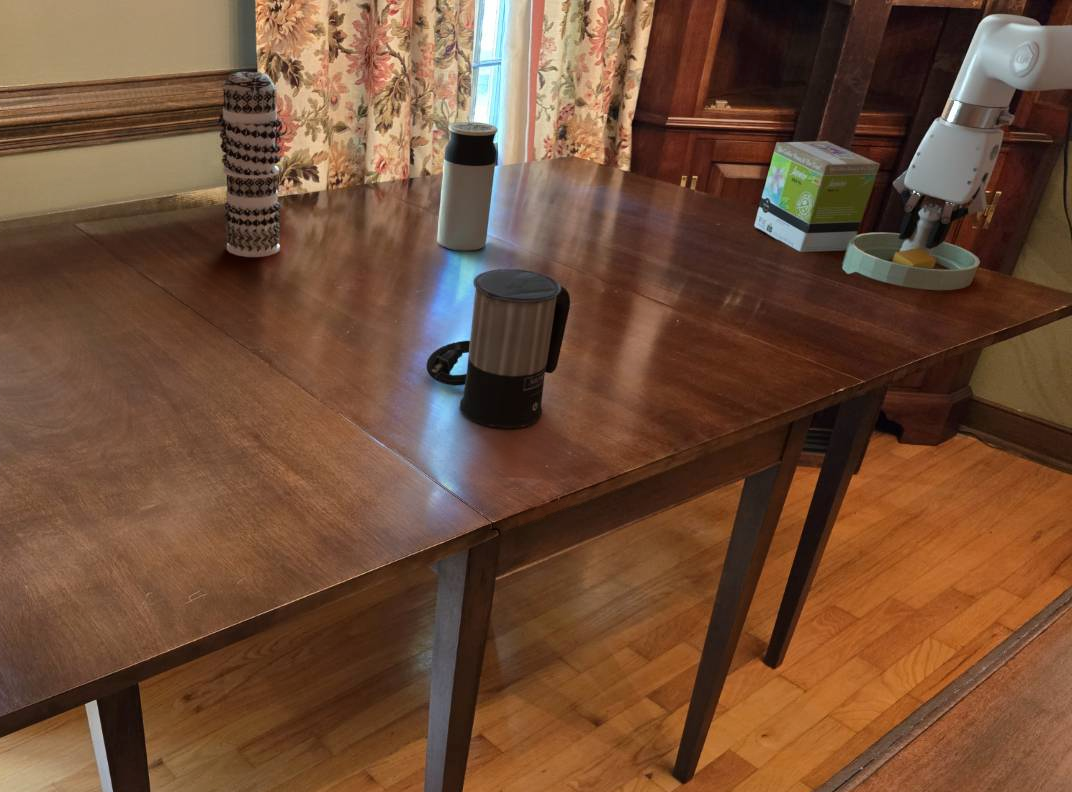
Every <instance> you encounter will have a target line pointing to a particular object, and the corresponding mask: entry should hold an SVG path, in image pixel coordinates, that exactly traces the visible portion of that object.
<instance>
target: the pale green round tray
mask: <svg viewBox="0 0 1072 792" xmlns="http://www.w3.org/2000/svg"><path fill="white" fill-rule="evenodd" d="M899 235H900V233H897V232H867V233H860V234H856V236H854V237H853V238H851V239H850V241H849V244H848V247H847V250H845V253H844V256H843V259H842V262H841V268H842V270H843V271H844V272H845V273H846V274H847V275H850V274H852V273H858V274H860V275H862V276H864V277H867V278H869V279H872V280H876V281H879V282H881V283H882V282H883V283H886V284H891V285H895V286H900V287H905V288H911V289H919V290H929V291H954V290H959V289H960V290H961V289H964V288H967V287H969V286H971V284H972V283H973V281H974V280H975V279H974V278H975V276H976V274H977V271H978V270H979V267H980V264H981V261H980V259H979V257H978V256H977V255H976V254H975V253H973V252H972V251H969V250H967V249H965V248H963V247H961V246H958V245H956V244H952V243H949V242H945V241H944V242H943V243H942V244H939V245H938V246H937V247H934V248H933V251H932V252H931V256H932V257H933V258H935V259H936V262H935V264H936V265H939V266H942V267H945V268H946V269H941V268H940V269H938V268H933V269H926V268H919V267H912V266H907V265H902V264H898V263H893V262H892V261H890V260H893V258H894V255H895V253H896V252H900V249H901V248H902V245H903V243H904V242H905V241H906V240H907V239H908V238H906V239H903V240H901V239H899Z"/></svg>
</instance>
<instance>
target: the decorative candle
mask: <svg viewBox="0 0 1072 792" xmlns="http://www.w3.org/2000/svg"><path fill="white" fill-rule="evenodd" d="M220 87H221V88H222V91H223V108H222V114H220V115H219V118H218V119H217V121H218V123H219V126H221V128H222V129H221V130H220V133H219V138H220V139H221V144H220V149H221V151H222V152H223V153H224V154H223V155H222V159H221V162H222V164H223V166H224V167H223V173H224V174H225V175H226V191H225V197H226V198H225V199H226V202H225V203H224V205H223V206H224V208H225V210H226V213H225V214H224V218H225V220H227V221H228V222H227V223H226V224H225V225H224V229H225V231H226V235H225V240H226V250H227V252H229V253H230V254H232V255H235V256H238V257H244V258H263V257H269V256H272V255H275V254H277V253H279V252H280V249H281V247H280V246H281V245H280V244H279V243H280V240H281V236H280V231H281V226H280V223H279V222H278V221H279V220H280V218H281V215H280V213H279V210H280V209H281V204H280V203H279V202H278V200H279V199H278V197H279V196H278V193H279V192H278V190H277V175H279V174H280V168H279V166H277V164H278V163H280V162H281V157H280V156H279V155H277V153H279V152H280V151H281V146H280V145H279V144H277V143H276V140H278V139H279V138H280V137H281V136H282V132H281V131H280V130H279V129H278V128H279V127H281V126H282V123H283V121H282V120H281V119H279V118H278V109H277V107H276V89H277V88H278V85H276V84H274V83H273V81H272V79H271V77H270V76H269V75H268V74H265V73H263V72H256V71H238V72H233V73H230V74H229V75H228V77H227V79H226V80H225V82H224V83H222V84H221V85H220Z"/></svg>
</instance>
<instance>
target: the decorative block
mask: <svg viewBox="0 0 1072 792" xmlns="http://www.w3.org/2000/svg"><path fill="white" fill-rule="evenodd" d="M891 262H893V263H898V264H902V265H907V266H912V267H919V268H926V269H934V267H935V266H936V263H935V262H936V259H935V258H933V257H932V256H930V255H929V254H927V253H926V252H924V251H923V250H921V249H919V248H914V249H910V250H905V251H900V252H896V253H895V255H894V258H892V261H891Z"/></svg>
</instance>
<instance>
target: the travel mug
mask: <svg viewBox="0 0 1072 792" xmlns="http://www.w3.org/2000/svg"><path fill="white" fill-rule="evenodd" d="M448 130H449V133H450V134H449V135H450V139H449V140H448V142H447V144H446V145H445V148H444V159H443V169H442V181H441V191H440V203H439V215H438V225H437V226H438V227H437V237H436V242H437V243H438V244H439V245H441V246H442V247H444V248H446V249H448V250H452V251H461V252H462V251H463V252H470V251H477V250H480V249H482V248H484V247H485V246H487V245H486V244H487V239H488V228H489V220H490V211H491V202H492V194H493V186H494V178H495V168H496V161H497V148H496V144H495V143H494V140H495V136H496V134H497V133H498V128H497V127H496V126H495V125H492V124H489V123H485V122H477V121H457V122H452V123H449V125H448Z"/></svg>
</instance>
